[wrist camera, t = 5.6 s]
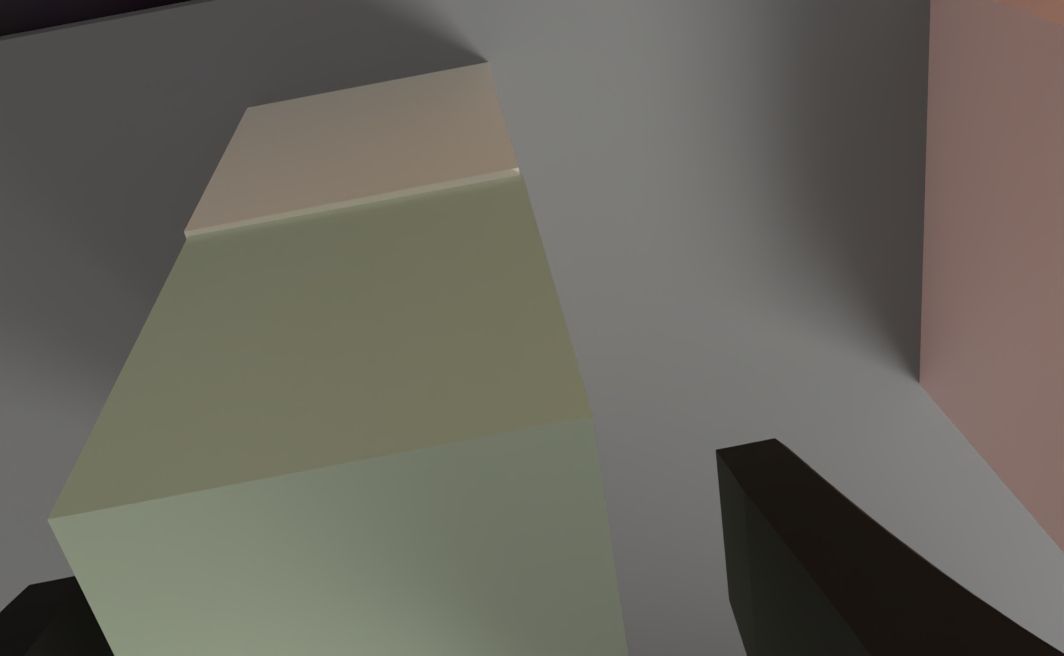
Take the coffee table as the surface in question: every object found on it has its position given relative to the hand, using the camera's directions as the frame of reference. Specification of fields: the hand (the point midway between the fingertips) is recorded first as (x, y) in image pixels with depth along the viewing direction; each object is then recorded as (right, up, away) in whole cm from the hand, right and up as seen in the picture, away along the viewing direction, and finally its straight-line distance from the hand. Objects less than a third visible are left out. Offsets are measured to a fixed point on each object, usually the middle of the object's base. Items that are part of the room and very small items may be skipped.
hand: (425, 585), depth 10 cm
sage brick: (0, +1, +2) cm, 2 cm away
